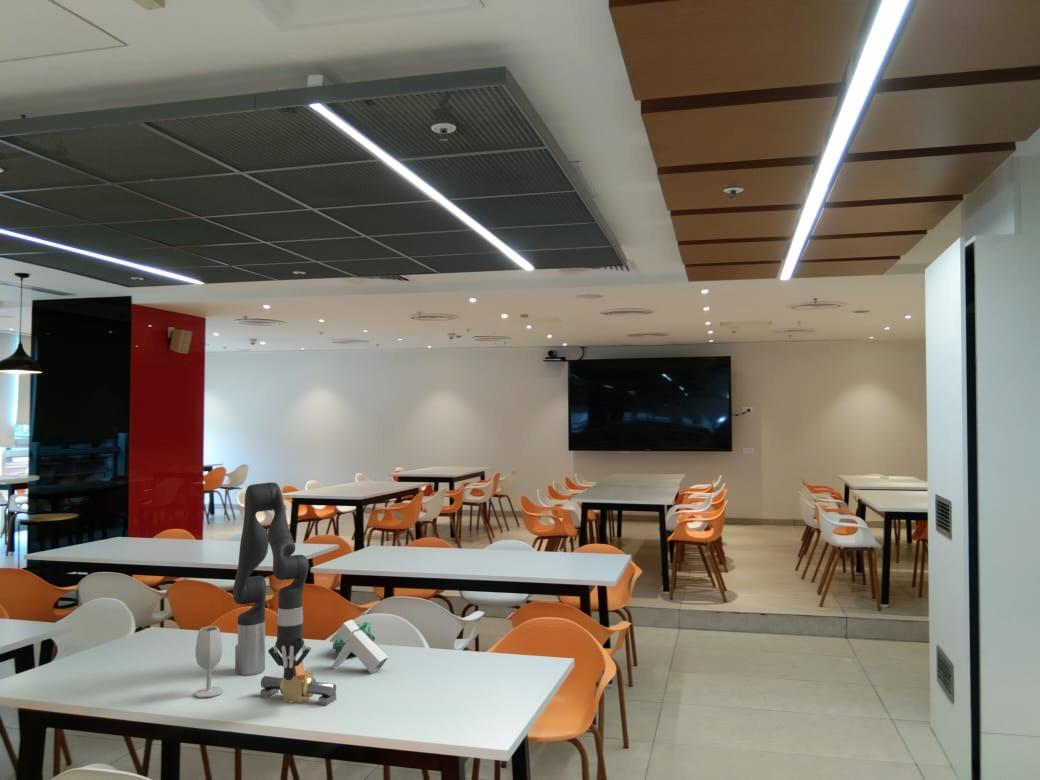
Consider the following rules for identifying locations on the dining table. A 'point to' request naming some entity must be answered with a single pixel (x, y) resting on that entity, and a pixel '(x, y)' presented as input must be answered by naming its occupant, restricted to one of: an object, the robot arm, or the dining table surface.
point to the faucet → (359, 647)
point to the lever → (300, 672)
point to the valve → (298, 688)
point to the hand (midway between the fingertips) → (289, 679)
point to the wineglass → (208, 657)
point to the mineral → (363, 627)
